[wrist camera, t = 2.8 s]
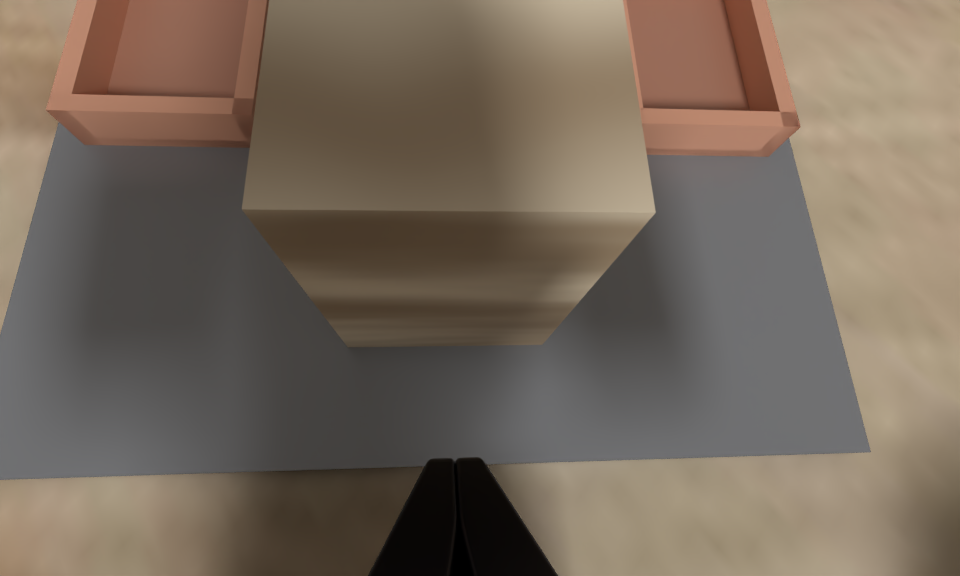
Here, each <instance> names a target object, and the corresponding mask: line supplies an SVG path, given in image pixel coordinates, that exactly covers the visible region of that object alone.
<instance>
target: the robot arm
mask: <svg viewBox="0 0 960 576" xmlns="http://www.w3.org/2000/svg"><path fill="white" fill-rule="evenodd" d="M368 576H558V575H557V573H556V572H555V570H554V569H553V567H552V566H551V564H550V562H549V561H548V559H547V558H546V556H545V555H544V553H543V552H542V550H541V549H540V547H539V545H538V544H537V542H536V541H535V539H534V538H533V536H532V535H531V533H530V532H529V530H528V528H527V527H526V525H525V524H524V522H523V521H522V519H521V518H520V516H519V515H518V513H517V512H516V510H515V508H514V507H513V505H512V504H511V502H510V501H509V499H508V498H507V496H506V495H505V493H504V491H503V490H502V488H501V487H500V485H499V484H498V482H497V481H496V479H495V478H494V476H493V474H492V473H491V471H490V470H489V468H488V467H487V465H486V464H485V462H484V461H483V460H482V459H481V458H479V457H464V458H458V459H456V461H454V459H452V458H433V459H430V460H428V462H427V463H426V465H425V467H424V469H423V470H422V472H421V474H420V476H419V478H418V480H417V482H416V484H415V486H414V488H413V490H412V492H411V494H410V496H409V497H408V499H407V501H406V503H405V505H404V507H403V509H402V511H401V513H400V515H399V517H398V519H397V521H396V523H395V525H394V526H393V528H392V530H391V532H390V534H389V536H388V538H387V540H386V542H385V544H384V546H383V548H382V550H381V552H380V554H379V555H378V557H377V559H376V561H375V563H374V565H373V567H372V569H371V571H370V573H369V575H368Z"/></svg>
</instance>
